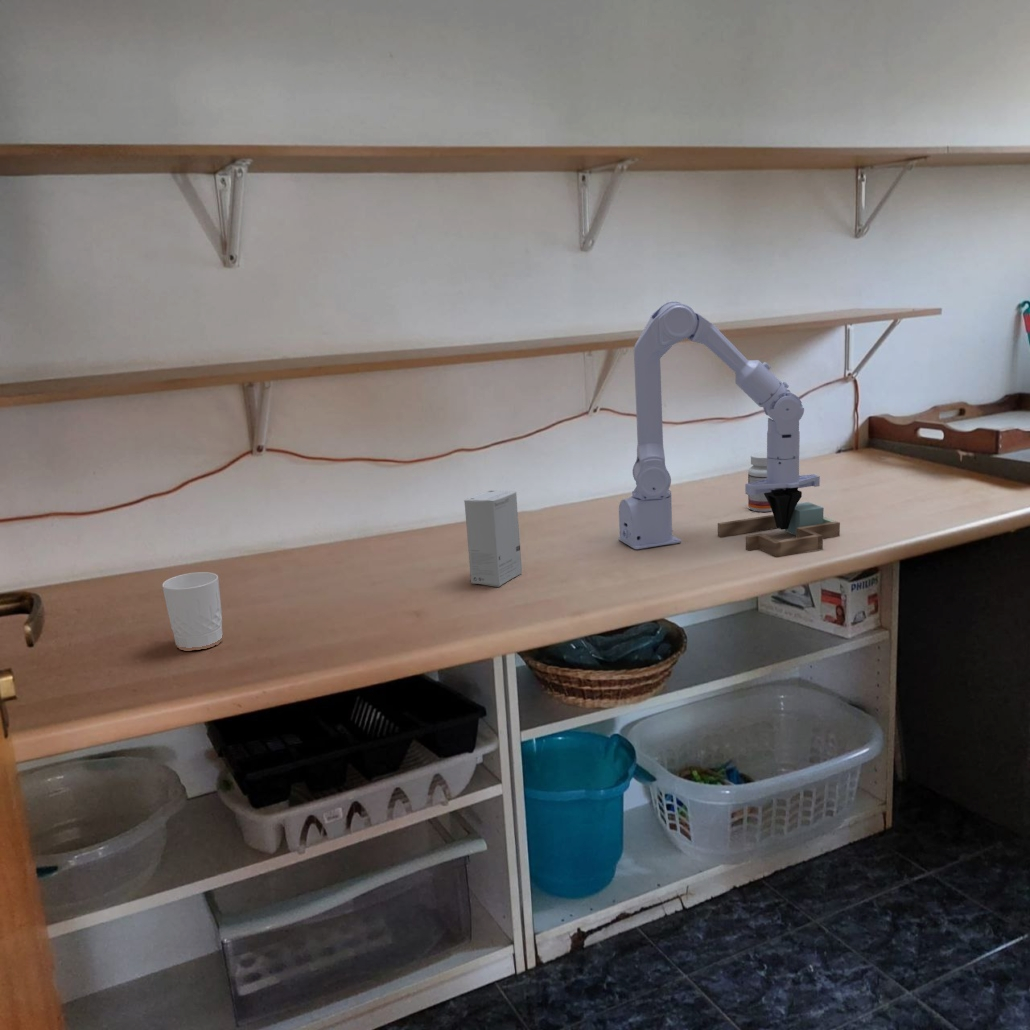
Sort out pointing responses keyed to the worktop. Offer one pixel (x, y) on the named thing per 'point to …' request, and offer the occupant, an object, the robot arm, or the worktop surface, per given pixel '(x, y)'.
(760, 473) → the pill bottle
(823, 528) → the brown frame
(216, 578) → the white cup
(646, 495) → the robot arm
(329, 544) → the worktop surface
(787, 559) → the worktop surface
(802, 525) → the teal block
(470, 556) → the skincare box
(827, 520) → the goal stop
